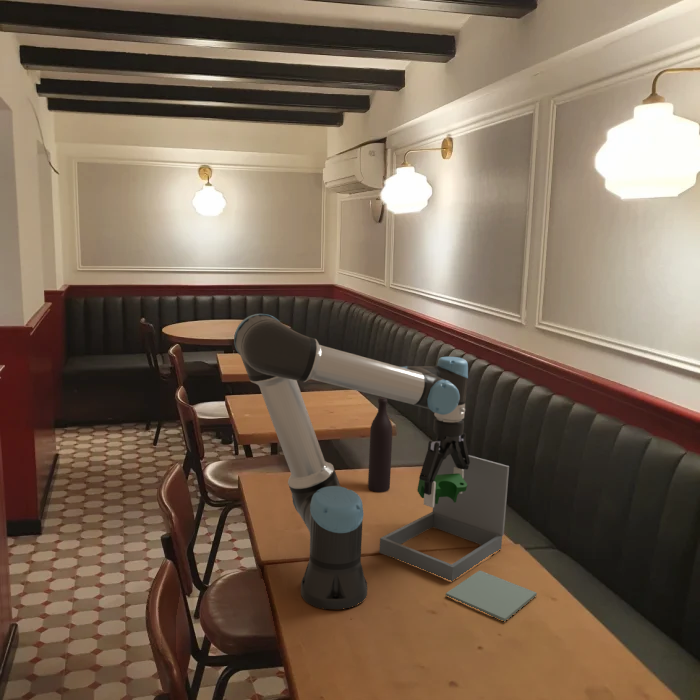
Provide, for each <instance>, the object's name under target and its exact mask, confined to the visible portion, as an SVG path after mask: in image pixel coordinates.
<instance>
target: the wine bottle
mask: <svg viewBox="0 0 700 700" xmlns="http://www.w3.org/2000/svg"><path fill="white" fill-rule="evenodd" d="M378 397H379V398H378V400H377V403H378V409H377V413H376V415H375V417H374V418H373V420H372V422H371V425H370V432H369V454H368V455H369V456H368V474H367V475H368V477H367V478H368V480H367V488H368V490H370V491H372V492H375V491H376V492H377V493H385V492H388V491H389V490H390V488H391V468H392V452H393V451H392V448H393V425H392V421H391V420H390V417H389V415H388V413H387V412H388V411H387V404H388V398H385V397H381V396H378ZM376 492H375V493H376Z"/></svg>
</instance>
